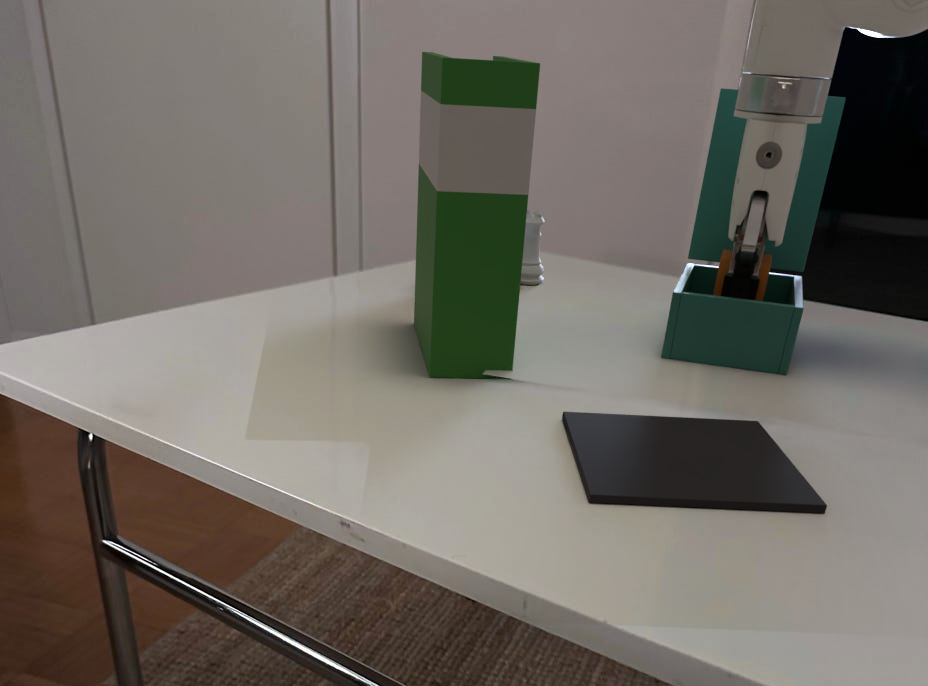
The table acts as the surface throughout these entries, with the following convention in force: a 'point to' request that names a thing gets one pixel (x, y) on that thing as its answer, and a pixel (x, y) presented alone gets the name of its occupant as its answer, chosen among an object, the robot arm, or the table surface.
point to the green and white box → (472, 210)
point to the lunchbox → (733, 323)
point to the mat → (685, 463)
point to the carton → (762, 276)
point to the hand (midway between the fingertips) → (734, 312)
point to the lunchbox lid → (804, 205)
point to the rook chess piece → (532, 250)
